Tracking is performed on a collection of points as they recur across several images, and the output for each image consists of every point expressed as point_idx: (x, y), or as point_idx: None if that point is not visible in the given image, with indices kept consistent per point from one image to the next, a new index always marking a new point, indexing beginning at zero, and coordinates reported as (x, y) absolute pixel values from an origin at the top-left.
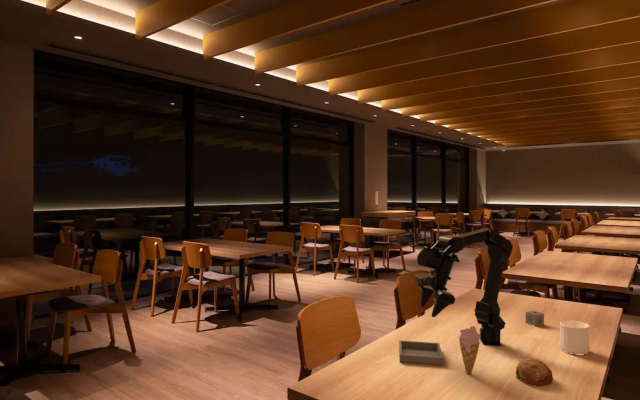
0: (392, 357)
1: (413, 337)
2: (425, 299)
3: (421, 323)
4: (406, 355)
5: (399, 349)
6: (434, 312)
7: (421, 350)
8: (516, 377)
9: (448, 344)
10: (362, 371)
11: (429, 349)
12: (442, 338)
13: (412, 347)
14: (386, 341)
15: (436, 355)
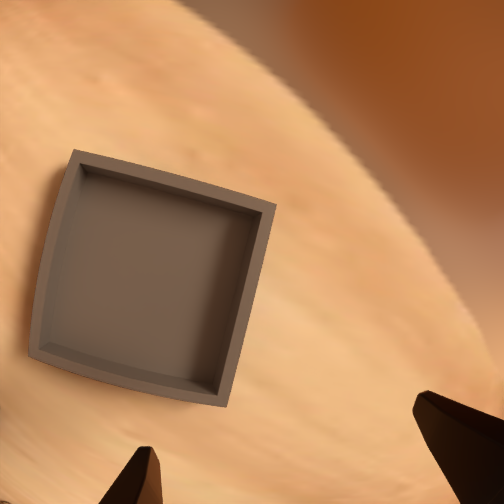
0: (140, 142)
1: (376, 314)
2: (457, 458)
3: (472, 365)
4: (62, 181)
5: (157, 171)
6: (117, 491)
7: (205, 307)
8: (4, 502)
9: (285, 441)
10: (50, 31)
11: (217, 350)
12: (350, 427)
13: (240, 270)
14: (337, 175)
15: (139, 359)
